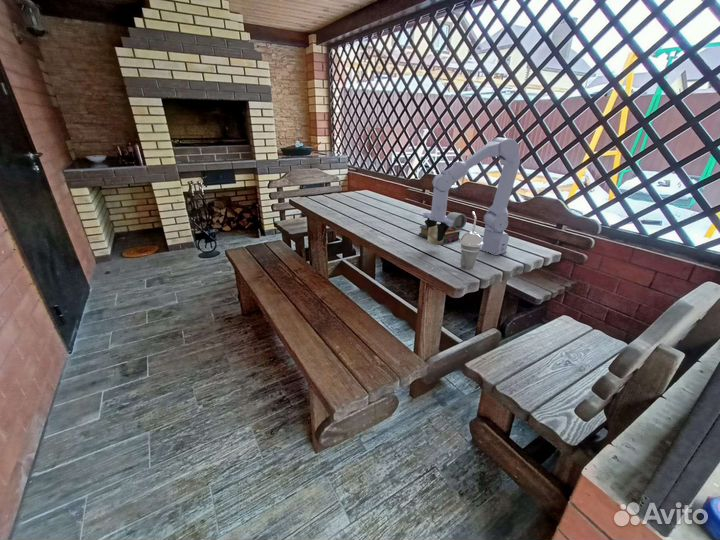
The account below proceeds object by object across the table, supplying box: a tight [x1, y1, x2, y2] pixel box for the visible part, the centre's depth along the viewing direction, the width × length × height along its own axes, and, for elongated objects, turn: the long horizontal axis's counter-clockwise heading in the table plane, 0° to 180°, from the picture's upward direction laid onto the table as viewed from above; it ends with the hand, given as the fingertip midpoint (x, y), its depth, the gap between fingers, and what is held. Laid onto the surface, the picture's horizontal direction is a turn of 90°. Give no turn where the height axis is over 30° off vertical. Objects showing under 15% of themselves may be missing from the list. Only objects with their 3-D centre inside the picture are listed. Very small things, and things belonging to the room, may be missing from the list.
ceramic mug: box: [446, 211, 467, 230], centre depth 166 cm, size 11×8×8 cm
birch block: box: [427, 226, 444, 245], centre depth 134 cm, size 4×4×6 cm
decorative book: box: [418, 223, 461, 245], centre depth 151 cm, size 11×16×5 cm
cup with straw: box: [458, 211, 484, 271], centre depth 118 cm, size 8×9×20 cm
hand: (435, 238), depth 135 cm, fingers closed on birch block, 4 cm apart
